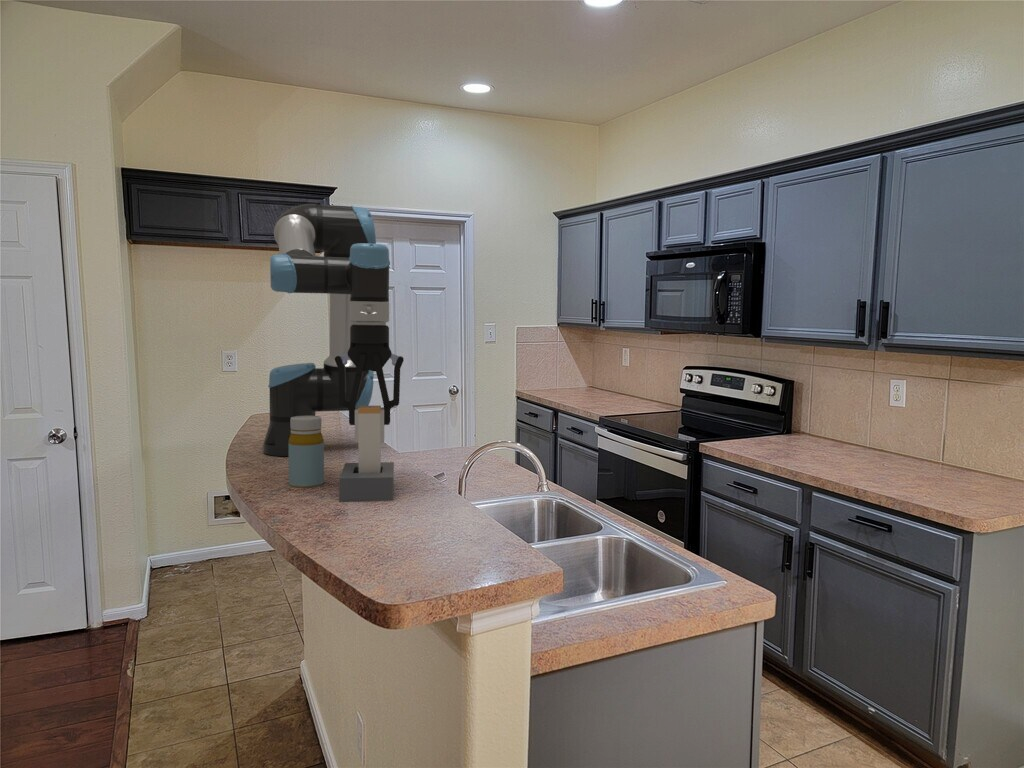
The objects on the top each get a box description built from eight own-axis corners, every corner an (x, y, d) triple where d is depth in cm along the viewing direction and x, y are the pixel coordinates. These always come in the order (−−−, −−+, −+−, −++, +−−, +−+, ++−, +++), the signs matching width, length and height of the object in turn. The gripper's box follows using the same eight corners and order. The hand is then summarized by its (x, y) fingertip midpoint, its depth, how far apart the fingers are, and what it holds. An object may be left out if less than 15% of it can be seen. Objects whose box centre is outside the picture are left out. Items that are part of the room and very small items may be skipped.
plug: (359, 468, 137) (359, 405, 136) (380, 468, 138) (380, 405, 136) (358, 473, 133) (358, 408, 131) (380, 473, 133) (380, 408, 132)
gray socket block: (345, 488, 141) (345, 462, 141) (393, 487, 143) (393, 462, 143) (339, 506, 128) (339, 478, 127) (392, 505, 129) (392, 477, 129)
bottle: (313, 493, 137) (313, 420, 136) (282, 491, 138) (281, 419, 137) (329, 485, 144) (329, 416, 142) (299, 483, 145) (299, 414, 144)
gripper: (322, 323, 127) (323, 445, 129) (414, 324, 130) (413, 444, 132) (326, 322, 134) (327, 438, 137) (413, 324, 137) (413, 437, 140)
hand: (369, 440), depth 135 cm, fingers closed on plug, 4 cm apart
